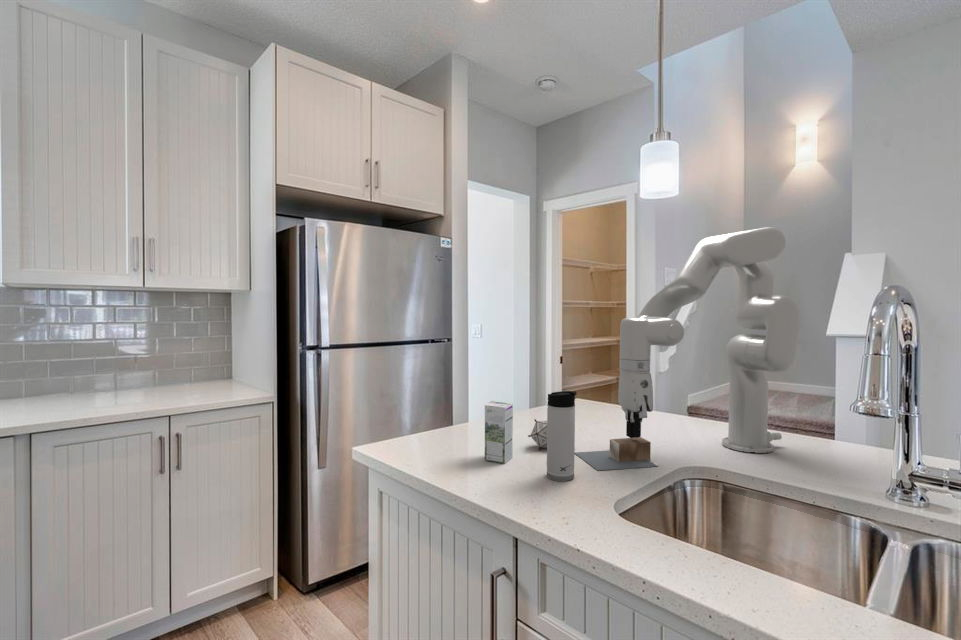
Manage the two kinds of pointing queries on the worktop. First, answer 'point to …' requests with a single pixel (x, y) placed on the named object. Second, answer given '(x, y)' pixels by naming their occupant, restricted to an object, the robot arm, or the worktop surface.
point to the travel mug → (561, 435)
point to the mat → (610, 461)
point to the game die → (540, 433)
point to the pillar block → (630, 449)
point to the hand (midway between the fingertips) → (633, 436)
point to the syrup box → (498, 431)
